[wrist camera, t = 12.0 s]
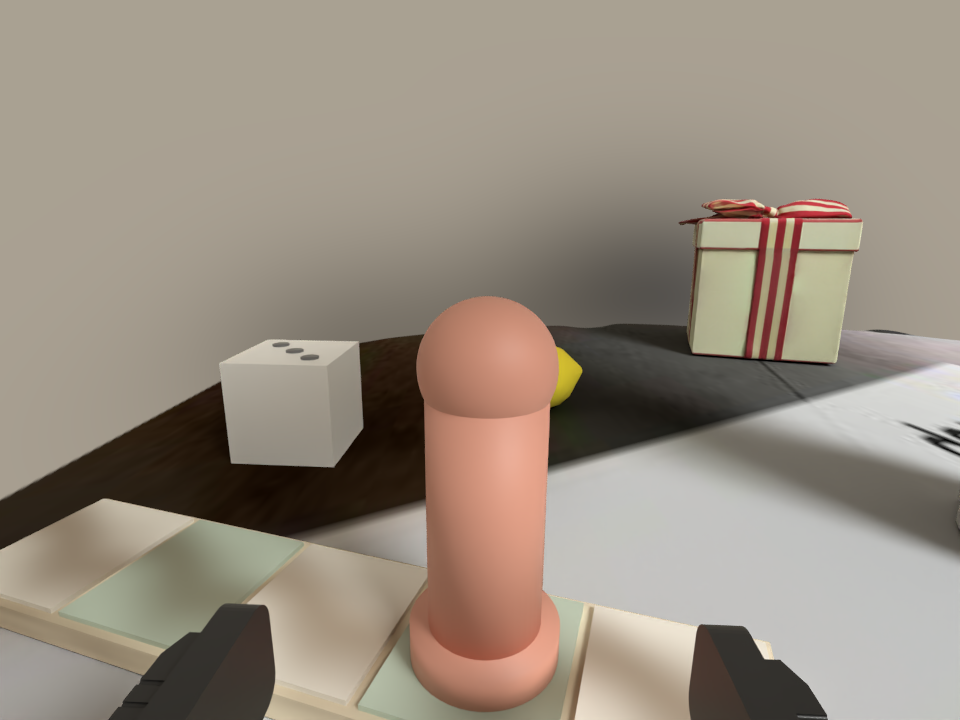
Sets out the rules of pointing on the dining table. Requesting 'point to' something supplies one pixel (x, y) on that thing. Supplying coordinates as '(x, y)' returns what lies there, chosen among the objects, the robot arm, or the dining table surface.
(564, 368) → the lemon
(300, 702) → the board
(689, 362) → the dining table surface
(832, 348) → the gift box
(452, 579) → the pawn
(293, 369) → the die
